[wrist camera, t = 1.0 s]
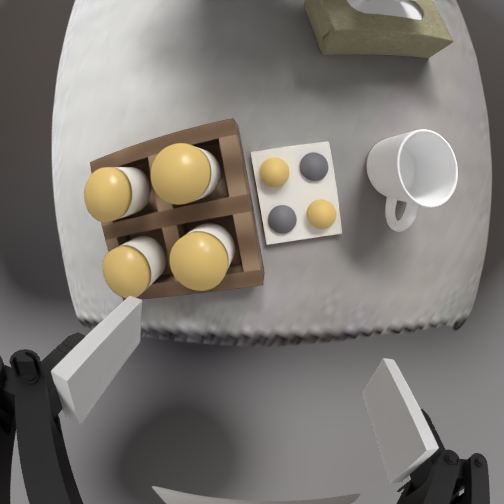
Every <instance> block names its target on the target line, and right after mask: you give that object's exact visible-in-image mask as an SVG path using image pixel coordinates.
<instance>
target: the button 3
mask: <svg viewBox="0 0 504 504" xmlns="http://www.w3.org/2000/svg"><path fill="white" fill-rule="evenodd" d="M220 176H221V170H220V165H219V163H218V161H217V159H216V158H215V157H214V156H213V155H212V154H211V153H210V152H208V151H206V150H203V149H201V148H198V147H195V146H192V145H189V144H185V143H177V144H172V145H170V146H168V147H166V148H164V149H163V150H162V151H161V152H160V153H159V154H158V155H157V156H156V158H155V160H154V162H153V164H152V168H151V182H152V186H153V188H154V190H155V192H156V193H157V195H158V196H159V197H160V198H161V199H163V200H164V201H166V202H168V203H171V204H176V205H181V204H186V203H189V202H192V201H195V200H198V199H201V198H204V197H206V196H208V195H210V194H211V193H212V192H213V191H214V190H215V189H216V187H217V186H218V183H219V181H220Z"/></svg>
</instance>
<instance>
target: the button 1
mask: <svg viewBox="0 0 504 504" xmlns="http://www.w3.org/2000/svg"><path fill="white" fill-rule="evenodd" d="M150 193H151V188H150V182H149V180H148V178H147V176H146V175H145V173H144V172H142V171H141V170H140V169H137V168H134V167H104V168H100V169H98V170H96V171H95V172H93V173H92V174H91V176H90V177H89V179H88V181H87V183H86V186H85V191H84V199H85V204H86V207H87V209H88V211H89V213H90V214H91V215H92V216H93V217H94V218H95V219H96V220H98V221H101V222H111V221H114V220H117V219H120V218H123V217H126V216H129V215H132V214H135V213H138V212H140V211H141V210H142V209H143V208H144V207H145V206H146V205H147V203H148V201H149V198H150Z"/></svg>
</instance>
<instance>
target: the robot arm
mask: <svg viewBox="0 0 504 504" xmlns="http://www.w3.org/2000/svg"><path fill="white" fill-rule="evenodd" d="M141 314H142V300H141V299H138V298H135V297H132V296H129V297H128V298H126V299H125V300H124V301H123V302H122V303H121V304H120V305H119V306H118V307H117V308H115V309H114V310H113V311H112V312H111V313H110V314H109V315H108V316H107V317H106V318H105V319H104V320H103V321H101V322H100V323H99V324H98V325H97V326H96V327H95V328H94V329H93V330H92V331H91V332H90V333H89V334H88V335H87V336H84V335H82V334H80V333H76V334H73V335H71V336H68V337H67V338H66V339H65V340H64V341H63V342H62V344H60V345H59V346H57V348H56V349H54V350H53V351H52V352H51V353H50V354H49V355H48V356H47V357H46V358H44V360H42V361H40V357H39V356H38V355H37V353H35V352H33V351H31V350H26V349H25V350H19V351H17V352H15V353H14V354H13V355H12V356H11V358H10V364H11V367H9V366H6V365H4V363H3V361H2V358H1V357H0V504H10V481H11V464H12V455H13V447H14V439H15V433H16V430H17V441H18V449H19V456H20V463H21V469H22V474H23V478H24V483H25V488H26V492H27V496H28V499H29V503H30V504H83V502H82V499H81V496H80V494H79V491H78V488H77V485H76V482H75V479H74V476H73V473H72V470H71V466H70V463H69V459H68V455H67V451H66V447H65V443H64V439H63V434H62V429H61V424H60V419H59V416H58V414H59V413H60V411H61V410H62V409H63V411H64V414H65V417H67V418H68V419H70V420H72V421H73V422H75V423H77V424H79V425H81V424H82V422H83V421H84V419H85V418H86V416H87V415H88V413H89V412H90V411H91V409H92V408H93V406H94V405H95V403H96V402H97V400H98V399H99V398H100V396H101V395H102V393H103V392H104V391H105V389H106V388H107V386H108V385H109V384H110V382H111V381H112V379H113V378H114V377H115V375H116V374H117V372H118V371H119V370H120V368H121V367H122V366H123V364H124V363H125V362H126V360H127V359H128V357H129V356H130V355H131V353H132V352H133V351H134V349H135V348H136V347H137V345H138V344H139V343H140V330H141ZM362 396H363V399H364V402H365V405H366V408H367V411H368V414H369V418H370V421H371V424H372V427H373V430H374V433H375V436H376V440H377V443H378V447H379V450H380V453H381V457H382V460H383V464H384V467H385V471H386V475H387V478H388V482H389V484H390V483H396V482H402V481H403V480H404V479H405V478H407V477H408V476H409V475H410V477H411V480H410V481H409V482H407V483H406V484H405V485H404V486H402V487H401V488H400V489H399V490H398V491H397V492H400V491H401V490H402V489H404V490H403V492H402V493H401V496H400V498H399V500H398V502H397V504H490V496H489V495H490V494H489V475H488V466H487V461H486V459H485V457H484V456H483V455H482V454H479V453H475V454H473V455H472V456H471V457H470V458H469V459H468V460H466V459H459V456H458V455H457V454H456V453H455V452H454V451H452V450H445V448H444V446H443V444H442V442H441V440H440V437H439V435H438V434H437V432H436V430H435V427H434V425H433V424H432V421H431V419H430V418H429V416H428V415H427V413H426V412H425V411H424V410H423V409H420V408H419V406H418V404H417V402H416V400H415V398H414V397H413V394H412V392H411V390H410V389H409V387H408V385H407V383H406V381H405V379H404V377H403V376H402V374H401V372H400V370H399V368H398V367H397V365H396V363H395V361H394V360H392V359H385V358H383V359H382V361H381V363H380V365H379V366H378V368H377V370H376V371H375V373H374V375H373V376H372V378H371V379H370V381H369V383H368V384H367V386H366V387H365V389H364V390H363V392H362ZM462 489H464V493H463V494H462V495H460V496H459V492H460V491H461V490H462Z"/></svg>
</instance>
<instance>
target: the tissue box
mask: <svg viewBox="0 0 504 504" xmlns="http://www.w3.org/2000/svg"><path fill="white" fill-rule="evenodd" d="M433 1H437V0H305V3H304V8H305V11H306V13H307V16H308V18H309V21H310V23H311V26H312V29H313V31H314V34H315V37H316V40H317V42H318V45H319V48H320V51H321V54H322V55H323V56H327V55H349V54H378V55H399V56H411V57H421V58H430V57H431V56H433V55H434V54H436V53H437V52H439V51H440V50H442V49H443V48H445V47H446V46H448V45H449V44H451V43H453V40H452V38H451V35H450V33H449V31H448V29H447V27H446V25H445V23H444V21H443V19H442V17H441V15H440V13H439V11H438V9H437V7H436V6H435V4H434V2H433Z"/></svg>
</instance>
